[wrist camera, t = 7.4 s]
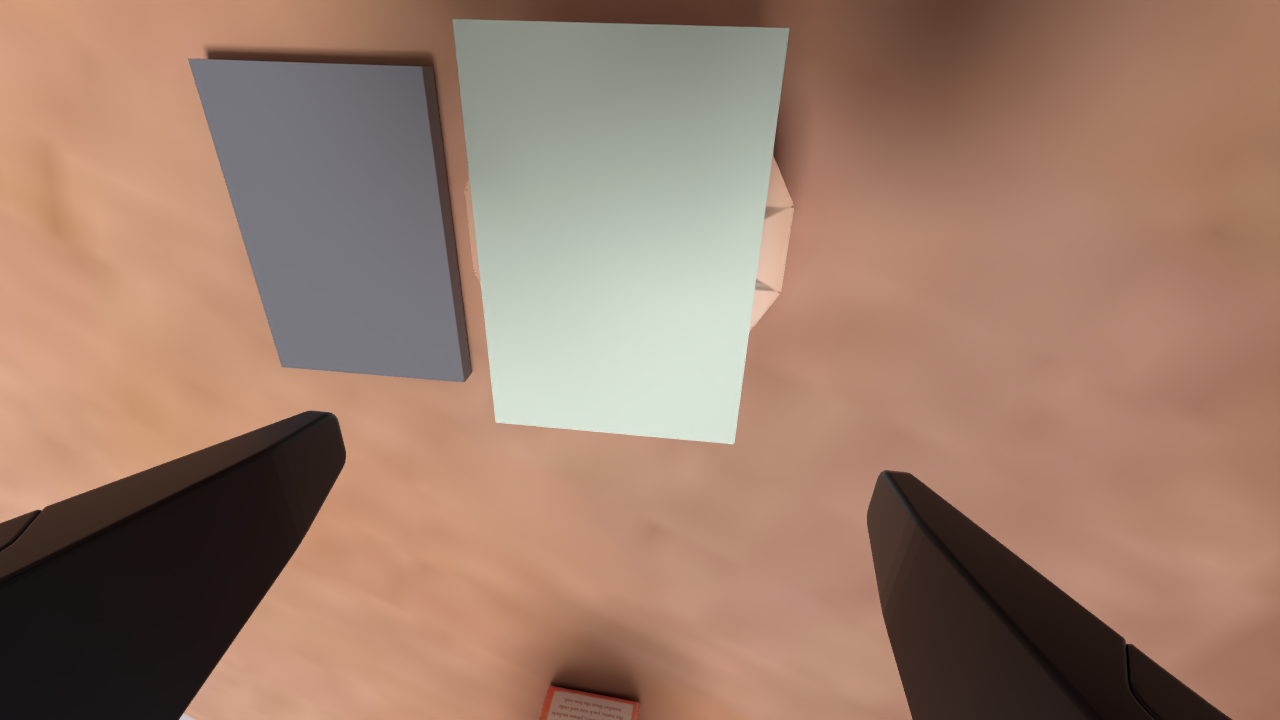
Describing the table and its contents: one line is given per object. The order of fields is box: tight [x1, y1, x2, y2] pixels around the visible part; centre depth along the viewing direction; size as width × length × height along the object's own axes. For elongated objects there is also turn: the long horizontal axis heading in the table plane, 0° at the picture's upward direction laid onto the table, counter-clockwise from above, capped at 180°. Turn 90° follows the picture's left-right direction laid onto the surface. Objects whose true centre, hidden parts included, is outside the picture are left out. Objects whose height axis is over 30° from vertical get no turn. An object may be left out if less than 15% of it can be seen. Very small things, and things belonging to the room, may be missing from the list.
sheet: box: [452, 19, 789, 444], centre depth 15 cm, size 7×10×2 cm
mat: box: [188, 59, 471, 382], centre depth 21 cm, size 8×12×1 cm
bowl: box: [464, 156, 794, 331], centre depth 18 cm, size 9×9×4 cm
